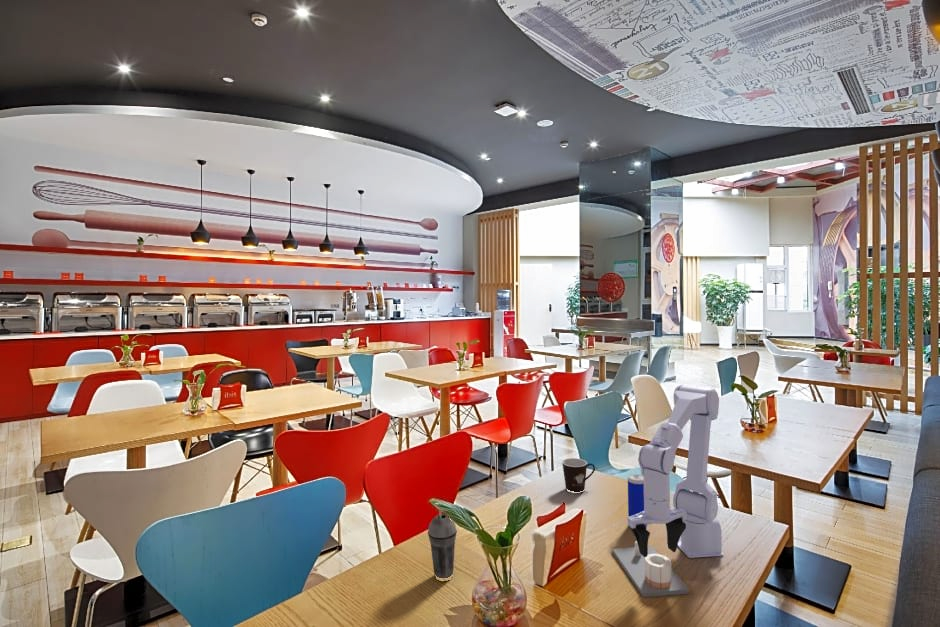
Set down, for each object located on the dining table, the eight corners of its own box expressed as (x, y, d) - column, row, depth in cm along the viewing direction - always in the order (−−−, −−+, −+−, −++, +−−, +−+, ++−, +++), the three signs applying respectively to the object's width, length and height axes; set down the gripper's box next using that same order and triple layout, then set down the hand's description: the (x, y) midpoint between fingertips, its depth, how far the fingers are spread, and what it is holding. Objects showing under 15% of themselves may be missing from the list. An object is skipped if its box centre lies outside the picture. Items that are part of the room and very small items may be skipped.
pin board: (612, 552, 127) (612, 536, 127) (651, 549, 128) (651, 533, 128) (643, 597, 109) (642, 578, 108) (689, 593, 109) (689, 574, 109)
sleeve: (661, 572, 116) (660, 552, 116) (676, 585, 111) (675, 564, 111) (640, 575, 115) (640, 555, 115) (654, 589, 110) (654, 568, 109)
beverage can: (648, 531, 138) (647, 481, 137) (629, 530, 139) (628, 480, 138) (645, 523, 143) (644, 474, 142) (627, 522, 144) (626, 473, 143)
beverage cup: (462, 571, 121) (459, 494, 120) (452, 587, 114) (449, 506, 113) (436, 566, 123) (433, 491, 123) (424, 582, 117) (421, 503, 116)
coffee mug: (563, 494, 165) (562, 466, 164) (562, 484, 173) (561, 457, 173) (597, 496, 163) (597, 467, 163) (595, 486, 171) (594, 458, 171)
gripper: (673, 485, 118) (673, 539, 118) (620, 493, 114) (621, 548, 115) (692, 497, 111) (693, 554, 111) (636, 505, 108) (637, 564, 108)
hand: (657, 552), depth 113 cm, fingers open, 7 cm apart
